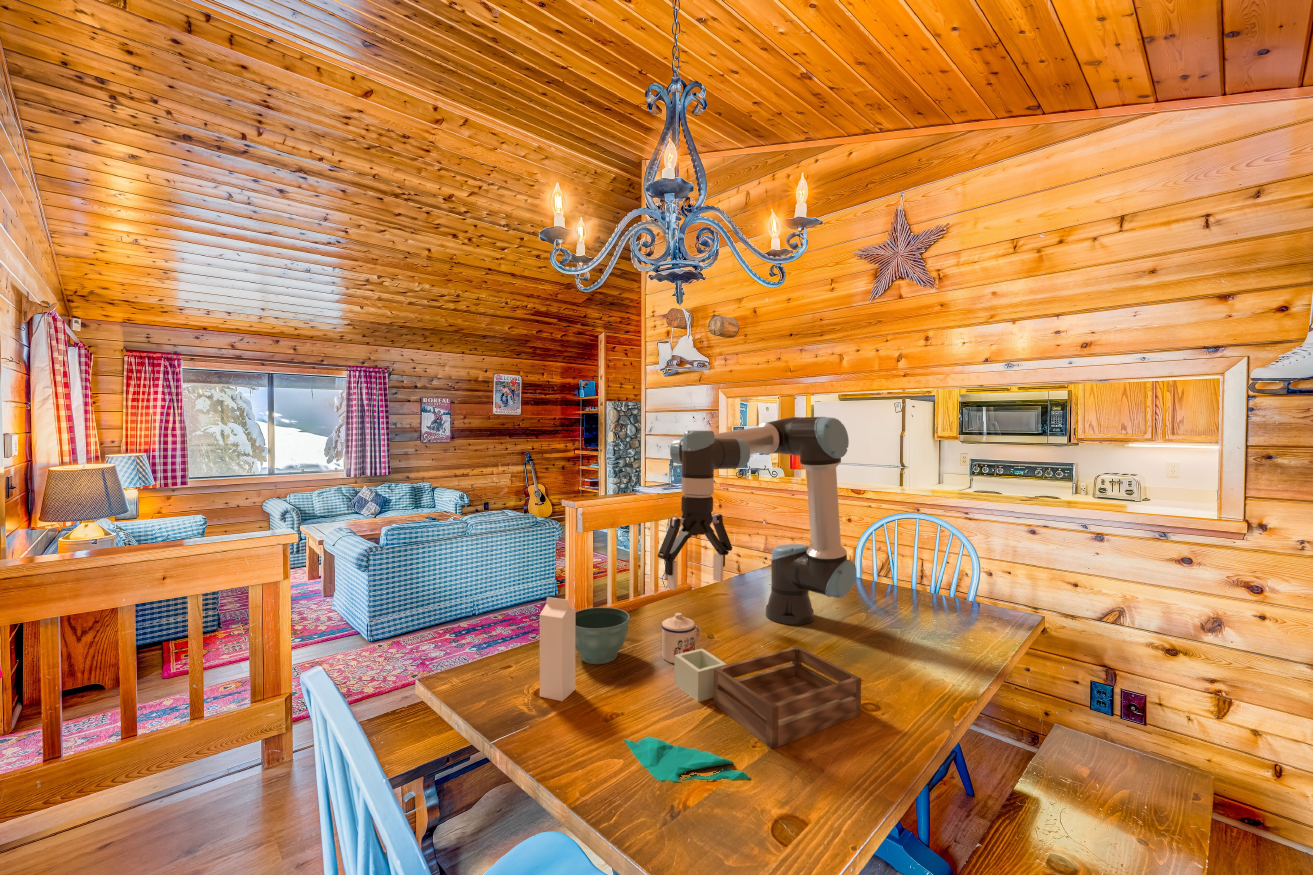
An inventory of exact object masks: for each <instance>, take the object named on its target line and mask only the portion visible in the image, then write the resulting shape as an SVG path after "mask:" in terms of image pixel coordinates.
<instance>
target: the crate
mask: <svg viewBox="0 0 1313 875" xmlns="http://www.w3.org/2000/svg"><path fill="white" fill-rule="evenodd" d="M787 663H790V664H787ZM783 664H786V665H783ZM803 664H804V665H803ZM780 665H781V666H780ZM805 665H806V666H805ZM776 666H780V667H776ZM807 666H808V667H809V668H808V667H807ZM774 667H776V668H774ZM771 668H772V669H771ZM811 668H812V669H814V670H815V671H814V670H812V669H811ZM767 669H769V670H767ZM763 670H764V671H763ZM760 671H762V672H760ZM816 671H817V672H816ZM755 672H759V673H756V674H755ZM818 672H819V673H818ZM752 673H754V674H752ZM820 673H821V674H820ZM749 674H750V675H749ZM751 674H752V675H751ZM822 674H823V675H824V676H823V675H822ZM745 675H749V676H745ZM742 676H745V677H742ZM825 676H826V677H825ZM739 677H740V678H739ZM741 677H742V678H741ZM827 677H829V678H830V679H829V678H827ZM735 678H738V679H735ZM831 679H833V680H834V681H836V682H834V681H833V680H831ZM713 705H714V706H715V707H716V708H718V709H719V710H721V712H723V713H724V714H725V715H727V716H728V717H730V718H731V719H732V720H734V722H736V723H737V724H739V725H740V726H741V727H742V728H744V729H745V730H746V731H747V732H749V733H750V734H751V735H753V736H754V737H755V738H756V739H758V740H759V741H761V742H762V743H763V744H764V745H765V746H767V747H768V748H769V749H770V750H774V749H776V748H779V747H781V746H784V745H786V744H788V743H792V742H795V741H796V740H799V739H801V738H805V737H807V736H809V735H812V734H815V733H818V732H821V731H823V730H825V729H828V728H831V727H834V726H836V725H839V724H841V723H844V722H846V721H848V720H852V719H854V718H856V717H859V716H861V713H862V711H861V710H862V709H861V708H862V707H861V706H862V677H860V676H858V675H856V674H854V673H852V672H849V671H848V670H846V669H844V668H841V667H840V666H837V665H835V664H834V663H832V662H829V661H828V660H826V659H824V658H822V657H819V656H818V655H816V654H814V653H812V652H810V651H808V650H806V649H803V648H802V647H800V646H797V645H795V646H793V647H788V648H785V649H780V650H778V651H775V652H774V651H773V652H770V653H767V654H763V655H759V656H756V657H751V658H748V659H744V660H741V661H736V662H734V663H730V664H727V665H725V666H722V667H718V668H714V697H713Z"/></svg>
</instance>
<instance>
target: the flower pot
mask: <svg viewBox="0 0 1313 875" xmlns="http://www.w3.org/2000/svg"><path fill="white" fill-rule="evenodd" d="M629 623H630V614H629V612H627V611H625V610H623V609H620V608H615V607H608V606H607V607H605V606H603V607H597V606H596V607H588V608H584V609H579V610H577V611H575V650H576V651H577V652H578V654H579V655H580V659H581V660H582V661H583V662H584V663H587V664H590V665H603V664H604V665H605V664H609V663H611V662H613V661H615V659H617V657H618V653H619V652H620V650H621V649H622V648H623V646H624V644H625V641H626V639H627V635H628V631H629Z"/></svg>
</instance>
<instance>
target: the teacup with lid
mask: <svg viewBox="0 0 1313 875" xmlns="http://www.w3.org/2000/svg"><path fill="white" fill-rule="evenodd" d="M661 629H662V631H661V633H662V636H661V638H662V641H661V643H662V644H661V646H662V647H661V648H662V649H661V651H662V652H661V655H662V659H663V660H665V662H668V663H671V664H675V655H677V654H681V653H685V652H689V651H693V650H696V648H695V644H697V643H698V641H699V640H700V638H701V633H702V632H701V628H700V626H698V625H696V623H695V621H694V620H692V619H691V618H687V617H686V616H683V614H682V613H681V612H675V614H674V616H672V617H668V618H665V619H664V620H663V621H662V623H661ZM695 630H696V631H695ZM695 632H696V633H695Z"/></svg>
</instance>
